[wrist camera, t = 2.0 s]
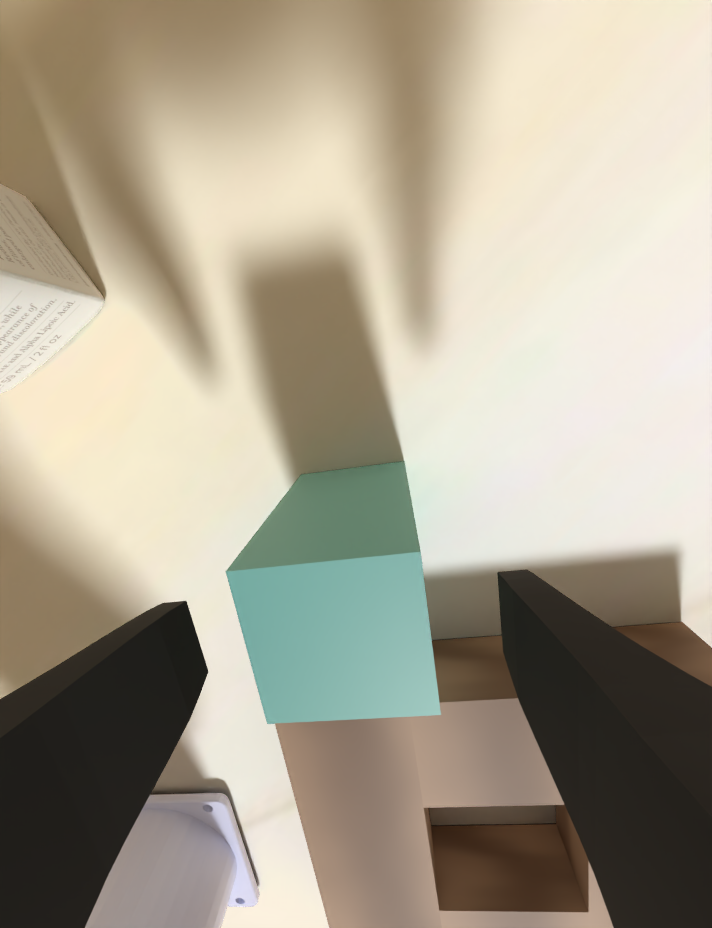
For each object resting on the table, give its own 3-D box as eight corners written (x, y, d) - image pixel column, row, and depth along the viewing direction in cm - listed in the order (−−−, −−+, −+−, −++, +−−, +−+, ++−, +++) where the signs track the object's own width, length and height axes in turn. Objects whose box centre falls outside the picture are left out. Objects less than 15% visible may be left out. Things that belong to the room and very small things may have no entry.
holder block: (349, 892, 20) (343, 979, 18) (291, 651, 17) (272, 711, 14) (663, 894, 19) (713, 991, 16) (682, 622, 15) (754, 685, 12)
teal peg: (319, 566, 15) (267, 723, 9) (301, 474, 14) (225, 571, 8) (416, 556, 15) (440, 714, 8) (404, 460, 14) (420, 552, 7)
